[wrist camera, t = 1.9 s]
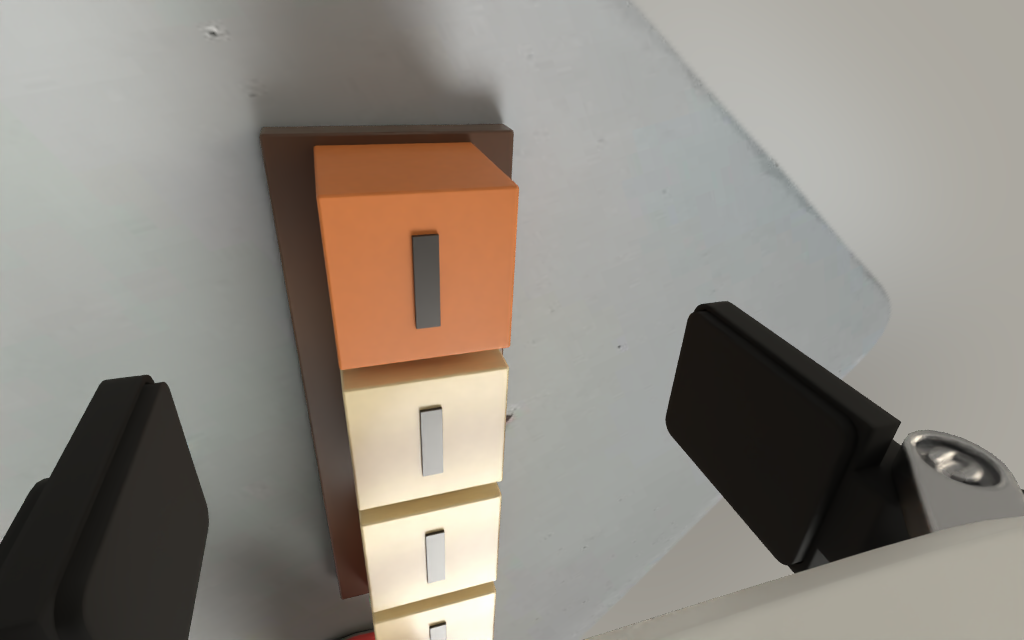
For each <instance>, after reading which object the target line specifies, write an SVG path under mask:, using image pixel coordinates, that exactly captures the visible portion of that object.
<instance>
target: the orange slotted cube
mask: <svg viewBox="0 0 1024 640" xmlns="http://www.w3.org/2000/svg"><path fill="white" fill-rule="evenodd" d="M313 151H314V168H315V184H316V200H317V207H318V214H319V222H320V229H321V237H322V244H323V252H324V259H325V267H326V274H327V282H328V289H329V297H330V304H331V312H332V319H333V327H334V334H335V342H336V349H337V357H338V364H339V368H340V369H341V370H346V369H353V368H360V367H368V366H375V365H383V364H390V363H397V362H405V361H412V360H419V359H427V358H434V357H441V356H449V355H456V354H463V353H471V352H478V351H485V350H493V349H500V348H507V347H509V346H510V337H511V319H512V302H513V284H514V266H515V249H516V231H517V214H518V196H519V187H518V185H516V184H515V183H514V182H513V181H512V180H511V179H510V178H509V177H508V176H507V175H506V174H505V173H504V172H502V171H501V170H500V169H499V168H498V167H497V166H496V165H495V164H494V163H493V162H492V161H491V160H490V159H488V158H487V157H486V156H485V155H484V154H483V153H482V152H481V151H480V150H479V149H478V148H477V147H476V146H474V145H473V144H472V143H471V142H459V143H414V144H369V145H323V146H314V148H313Z"/></svg>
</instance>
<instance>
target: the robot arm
mask: <svg viewBox="0 0 1024 640" xmlns="http://www.w3.org/2000/svg"><path fill="white" fill-rule="evenodd" d="M900 423H901V422H900V421H899V420H898V419H896V418H895V417H893V416H892V415H891V414H889V413H888V412H886V411H885V410H883V409H882V408H881V407H879V406H877V405H876V404H875V403H873V402H872V401H871V400H869V399H868V398H866V397H865V396H863V395H862V394H860V393H859V392H858V391H856V390H855V389H854V388H852V387H851V386H849V385H848V384H846V383H845V382H844V381H842V380H841V379H839V378H838V377H836V376H835V375H834V374H832V373H831V372H829V371H828V370H826V369H825V368H824V367H822V366H821V365H819V364H818V363H816V362H815V361H813V360H812V359H811V358H809V357H808V356H806V355H805V354H803V353H802V352H801V351H799V350H798V349H796V348H795V347H793V346H792V345H791V344H789V343H788V342H786V341H785V340H783V339H782V338H781V337H779V336H778V335H776V334H775V333H773V332H772V331H771V330H769V329H768V328H766V327H765V326H763V325H762V324H761V323H759V322H758V321H756V320H755V319H753V318H752V317H751V316H749V315H748V314H746V313H745V312H743V311H742V310H741V309H739V308H738V307H736V306H735V305H733V304H732V303H730V302H728V301H722V302H714V303H707V304H701V305H699V306H697V308H696V309H695V310H694V312H693V313H691V314H690V316H689V318H688V320H687V325H686V329H685V334H684V338H683V343H682V347H681V351H680V356H679V360H678V365H677V369H676V373H675V378H674V382H673V387H672V391H671V395H670V400H669V404H668V409H667V413H666V426H667V429H668V431H669V433H670V435H671V436H672V437H673V438H674V439H675V441H676V442H677V443H678V444H679V445H680V446H681V448H682V449H683V450H684V451H685V452H686V454H687V455H688V456H689V457H690V458H691V459H692V461H693V462H694V463H695V464H696V465H697V466H698V468H699V469H700V470H701V471H702V472H703V473H704V475H705V476H706V477H707V478H708V479H709V481H710V482H711V483H712V484H713V485H714V486H715V488H716V489H717V490H718V491H719V492H720V493H721V495H722V496H723V497H724V498H725V499H726V500H727V502H728V503H729V504H730V505H731V506H732V507H733V509H734V510H735V511H736V512H737V513H738V515H739V516H740V517H741V518H742V519H743V520H744V522H745V523H746V524H747V525H748V526H749V528H750V529H751V530H752V531H753V532H754V533H755V535H756V536H757V537H758V538H759V539H760V540H761V542H762V543H763V544H764V545H765V546H766V547H767V549H768V550H769V551H770V552H771V553H772V555H773V556H774V557H775V558H776V559H777V560H778V561H779V562H780V563H782V564H784V565H788V566H789V567H790V569H791V570H792V571H793V572H794V573H795V574H792V575H789V576H785V577H782V578H779V579H776V580H772V581H769V582H766V583H763V584H759V585H756V586H753V587H749V588H746V589H743V590H740V591H737V592H734V593H730V594H727V595H724V596H721V597H717V598H714V599H711V600H708V601H705V602H702V603H698V604H695V605H692V606H689V607H686V608H682V609H679V610H676V611H673V612H670V613H667V614H663V615H660V616H657V617H654V618H650V619H647V620H644V621H641V622H638V623H635V624H631V625H628V626H625V627H622V628H619V629H616V630H612V631H609V632H606V633H603V634H600V635H597V636H594V637H590V638H588V639H584V640H1024V490H1022V489H1020V487H1019V485H1018V483H1017V481H1016V480H1015V478H1014V476H1013V474H1012V473H1011V472H1010V470H1009V469H1008V468H1007V467H1006V465H1005V464H1004V463H1003V462H1001V461H1000V460H999V459H998V458H997V457H996V456H994V455H993V454H992V453H990V452H988V451H987V450H985V449H983V448H982V447H980V446H979V445H976V444H974V443H972V442H970V441H968V440H965V439H963V438H961V437H958V436H954V435H951V434H948V433H944V432H938V431H932V430H918V431H915V432H912V433H910V434H908V436H907V437H906V438H905V440H904V442H903V443H902V445H899V444H898V443H897V442H895V441H894V440H893V438H894V435H895V433H896V431H897V429H898V427H899V425H900ZM208 526H209V516H208V508H207V504H206V501H205V498H204V495H203V492H202V489H201V486H200V482H199V479H198V476H197V473H196V470H195V467H194V464H193V461H192V457H191V454H190V451H189V448H188V445H187V442H186V439H185V436H184V433H183V429H182V426H181V423H180V420H179V417H178V414H177V411H176V408H175V404H174V401H173V398H172V395H171V392H170V389H169V387H168V385H167V384H166V383H165V382H160V383H154V381H153V379H152V378H151V376H149V375H141V376H133V377H125V378H117V379H109V380H104V381H102V382H101V384H100V385H99V387H98V389H97V390H96V392H95V394H94V396H93V398H92V400H91V402H90V403H89V405H88V407H87V409H86V411H85V413H84V415H83V416H82V418H81V420H80V422H79V424H78V426H77V428H76V429H75V431H74V433H73V435H72V437H71V439H70V441H69V442H68V444H67V446H66V448H65V450H64V452H63V454H62V455H61V457H60V459H59V461H58V463H57V465H56V467H55V468H54V470H53V472H52V474H51V476H50V478H46V479H43V480H41V481H39V482H38V483H36V484H35V486H34V487H33V488H32V490H31V491H30V492H29V494H28V496H27V497H26V499H25V501H24V503H23V504H22V506H21V508H20V510H19V512H18V513H17V515H16V517H15V519H14V520H13V522H12V524H11V526H10V528H9V529H8V531H7V533H6V535H5V536H4V538H3V540H2V542H1V544H0V640H188V637H189V631H190V626H191V620H192V615H193V609H194V604H195V599H196V593H197V588H198V582H199V577H200V571H201V566H202V560H203V555H204V549H205V544H206V538H207V533H208Z"/></svg>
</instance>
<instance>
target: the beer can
mask: <svg viewBox="0 0 1024 640" xmlns="http://www.w3.org/2000/svg"><path fill="white" fill-rule="evenodd" d="M341 640H375V633H374V629H373V630H368V631H364V632H360V633H355V634H353V635H350V636H348V637H345V638H343V639H341Z"/></svg>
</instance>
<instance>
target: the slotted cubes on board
mask: <svg viewBox="0 0 1024 640" xmlns="http://www.w3.org/2000/svg"><path fill="white" fill-rule="evenodd" d="M513 136H514V132H513V130H511V129H510V128H509V127H507V126H506V125H504V124H465V125H384V126H303V127H263V128H262V129H261V133H260V136H259V138H260V144H261V149H262V155H263V161H264V166H265V172H266V178H267V183H268V189H269V195H270V200H271V206H272V212H273V217H274V223H275V228H276V234H277V240H278V245H279V251H280V257H281V262H282V268H283V274H284V279H285V285H286V290H287V296H288V302H289V307H290V313H291V319H292V324H293V330H294V336H295V341H296V347H297V353H298V358H299V364H300V369H301V375H302V381H303V386H304V392H305V398H306V403H307V409H308V415H309V420H310V426H311V432H312V437H313V443H314V448H315V454H316V460H317V465H318V471H319V477H320V482H321V488H322V494H323V499H324V505H325V510H326V516H327V522H328V527H329V533H330V539H331V544H332V550H333V556H334V561H335V567H336V573H337V578H338V584H339V589H340V595H341V599H347V598H351V597H355V596H359V595H363V594H367V593H369V596H370V603H371V611H372V617H373V626H374V633H375V640H493V636H494V618H495V601H496V589H495V586H494V583H493V581H495V580H496V579H497V565H498V548H499V530H500V512H501V492H500V490H499V487H498V485H497V482H499V481H502V478H503V461H504V443H505V425H506V408H507V390H508V373H509V367H508V365H507V363H506V361H505V359H504V357H503V348H500V349H493V350H485V351H478V352H471V353H463V354H456V355H449V356H441V357H434V358H427V359H419V360H412V361H405V362H397V363H390V364H383V365H375V366H368V367H360V368H353V369H346V370H341V369H340V368H339V364H338V357H337V349H336V342H335V334H334V327H333V319H332V312H331V304H330V297H329V289H328V282H327V274H326V267H325V259H324V252H323V244H322V237H321V229H320V222H319V214H318V207H317V200H316V184H315V168H314V151H313V148H314V146H323V145H369V144H414V143H459V142H471V143H472V144H473V145H474V146H476V147H477V148H478V149H479V150H480V151H481V152H482V153H483V154H484V155H485V156H486V157H487V158H488V159H490V160H491V161H492V162H493V163H494V164H495V165H496V166H497V167H498V168H499V169H500V170H501V171H502V172H504V173H505V174H506V175H507V176H508V177H509V178H510V179H511V176H512V156H513Z"/></svg>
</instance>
